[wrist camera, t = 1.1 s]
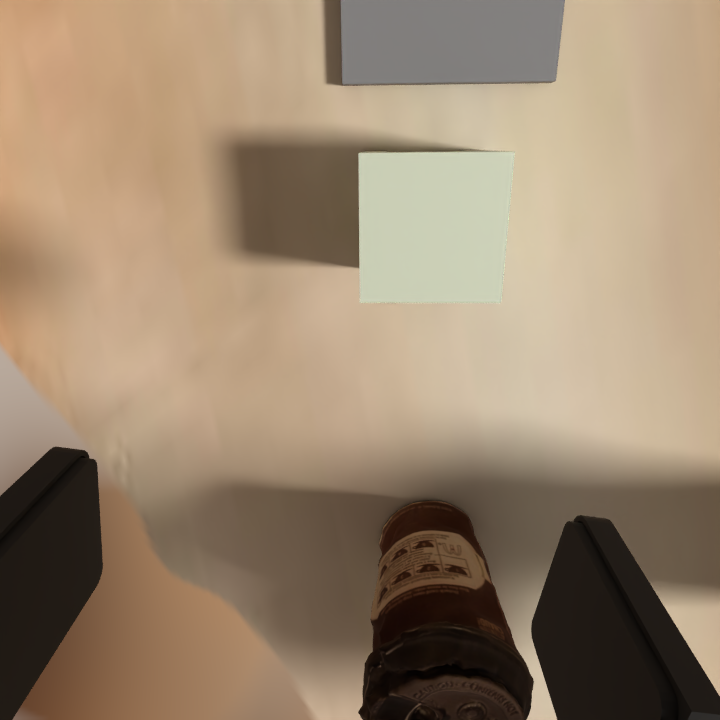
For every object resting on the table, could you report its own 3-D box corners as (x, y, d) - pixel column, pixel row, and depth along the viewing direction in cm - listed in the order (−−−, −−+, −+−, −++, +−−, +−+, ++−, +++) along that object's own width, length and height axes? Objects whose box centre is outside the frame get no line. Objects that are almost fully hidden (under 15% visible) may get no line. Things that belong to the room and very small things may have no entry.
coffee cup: (340, 508, 36) (319, 694, 24) (458, 462, 34) (500, 636, 22) (397, 601, 38) (404, 810, 26) (508, 562, 37) (570, 766, 25)
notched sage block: (483, 150, 27) (514, 151, 21) (475, 268, 29) (501, 303, 23) (364, 151, 27) (358, 153, 21) (364, 268, 30) (360, 303, 23)
